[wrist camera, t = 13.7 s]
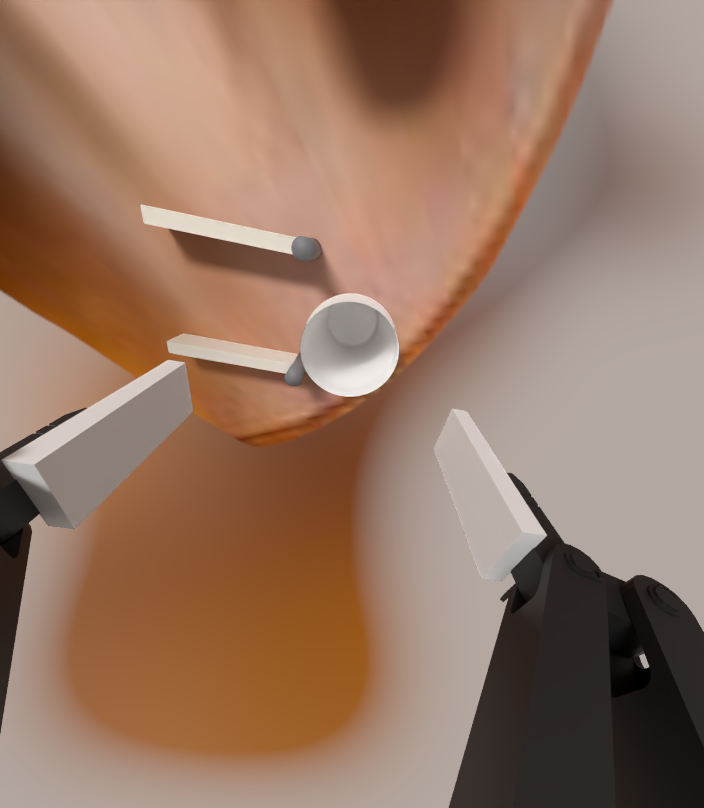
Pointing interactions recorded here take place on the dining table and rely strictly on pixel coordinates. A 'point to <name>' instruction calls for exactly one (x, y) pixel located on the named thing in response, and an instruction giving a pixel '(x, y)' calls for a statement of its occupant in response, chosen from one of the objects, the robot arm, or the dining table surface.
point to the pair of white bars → (249, 236)
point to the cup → (349, 345)
